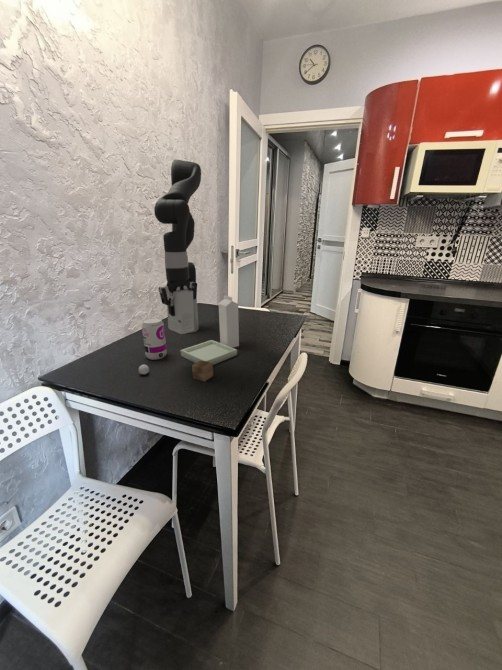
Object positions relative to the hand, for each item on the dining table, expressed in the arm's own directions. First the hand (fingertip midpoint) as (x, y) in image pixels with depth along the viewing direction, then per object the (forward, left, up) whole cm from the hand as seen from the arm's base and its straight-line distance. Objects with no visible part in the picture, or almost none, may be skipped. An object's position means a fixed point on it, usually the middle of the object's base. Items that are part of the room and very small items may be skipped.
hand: (180, 313), depth 107 cm
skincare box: (0, 0, -6) cm, 6 cm away
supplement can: (-16, -3, -21) cm, 26 cm away
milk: (-3, +25, -21) cm, 33 cm away
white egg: (-5, -14, -19) cm, 24 cm away
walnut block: (+12, -1, -21) cm, 24 cm away
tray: (-1, +12, -20) cm, 24 cm away
